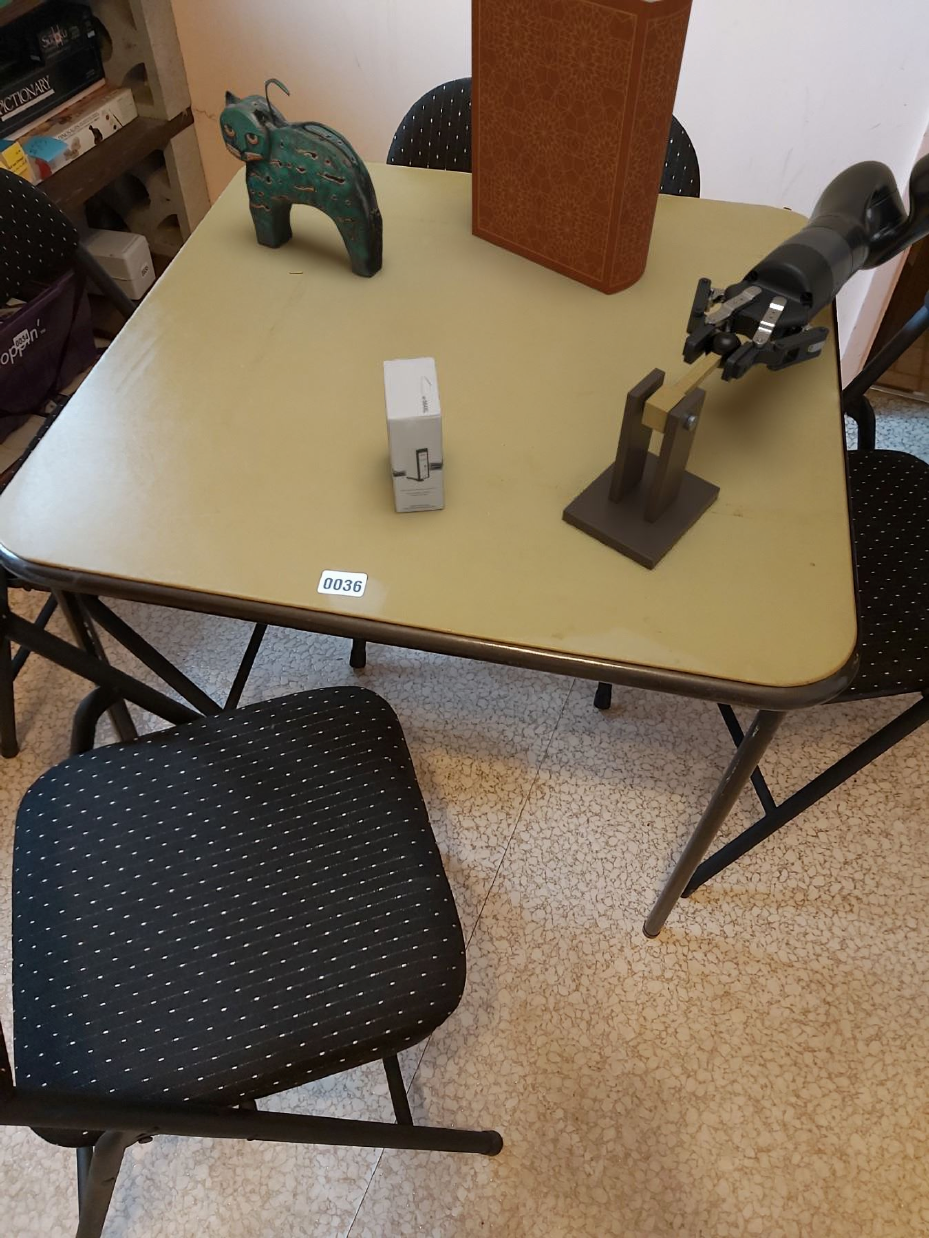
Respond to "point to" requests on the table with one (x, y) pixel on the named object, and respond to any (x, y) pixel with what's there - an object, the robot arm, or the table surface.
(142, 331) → the table surface
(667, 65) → the book
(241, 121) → the ceramic cat
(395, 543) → the table surface
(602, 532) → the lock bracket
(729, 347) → the lever
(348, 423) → the table surface
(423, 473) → the ink box
